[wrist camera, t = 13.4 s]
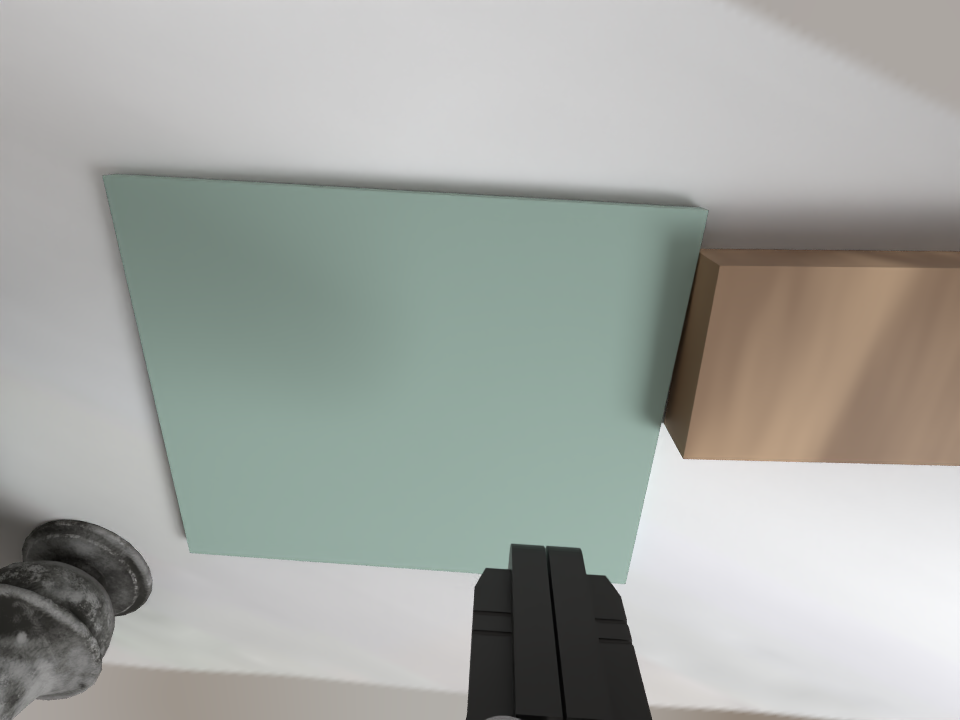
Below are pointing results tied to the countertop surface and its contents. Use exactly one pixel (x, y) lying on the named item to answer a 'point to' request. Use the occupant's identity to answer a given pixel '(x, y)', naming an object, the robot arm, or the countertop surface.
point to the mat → (405, 366)
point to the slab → (820, 358)
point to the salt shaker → (63, 610)
